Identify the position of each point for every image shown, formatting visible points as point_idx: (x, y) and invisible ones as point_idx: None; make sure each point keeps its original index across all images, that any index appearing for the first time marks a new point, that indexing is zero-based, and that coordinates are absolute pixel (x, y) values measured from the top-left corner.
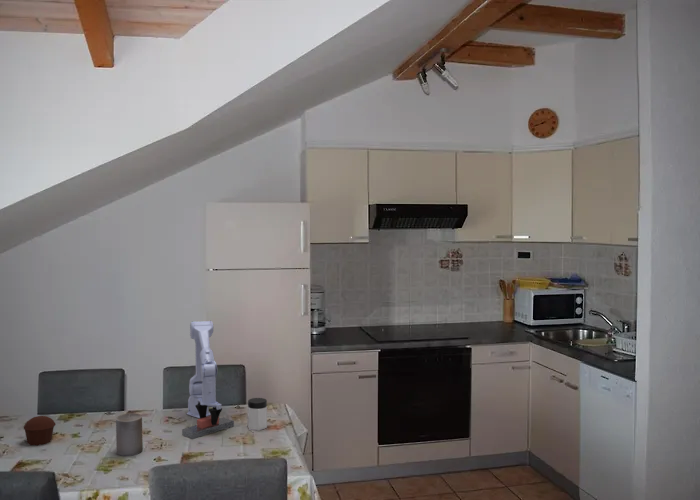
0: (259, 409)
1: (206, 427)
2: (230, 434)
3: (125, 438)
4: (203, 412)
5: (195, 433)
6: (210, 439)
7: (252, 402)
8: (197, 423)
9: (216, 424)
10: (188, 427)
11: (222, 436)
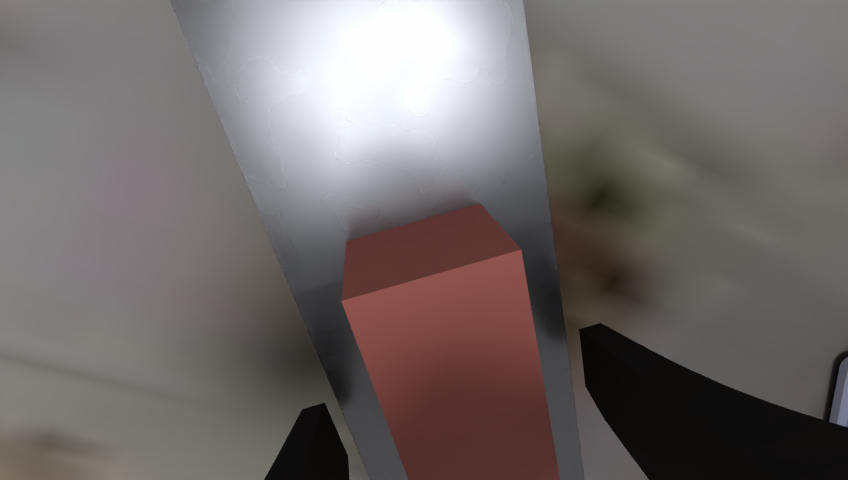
0: None
1: None
2: (182, 471)
3: None
4: (676, 469)
5: (202, 60)
6: (78, 232)
7: None
8: (480, 226)
9: None
10: (528, 59)
11: (146, 389)
